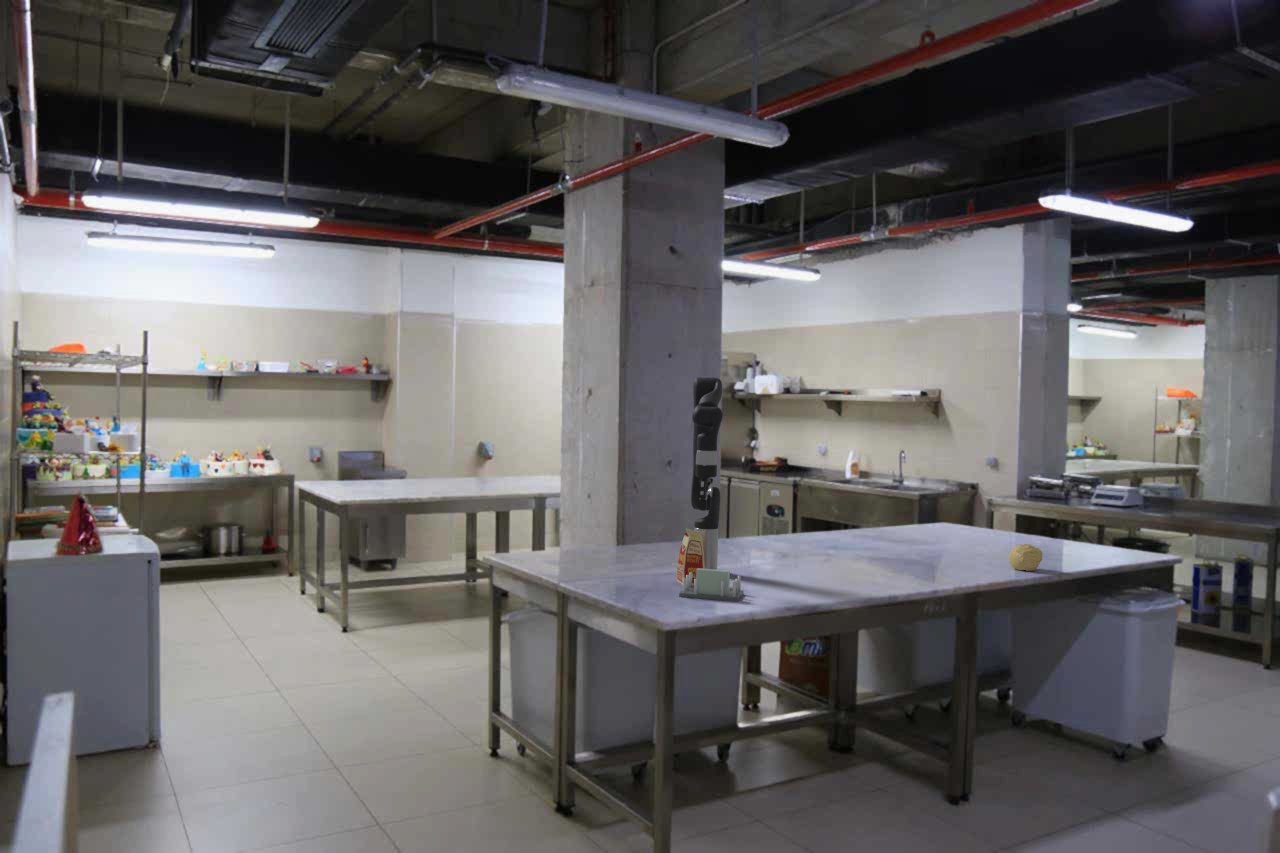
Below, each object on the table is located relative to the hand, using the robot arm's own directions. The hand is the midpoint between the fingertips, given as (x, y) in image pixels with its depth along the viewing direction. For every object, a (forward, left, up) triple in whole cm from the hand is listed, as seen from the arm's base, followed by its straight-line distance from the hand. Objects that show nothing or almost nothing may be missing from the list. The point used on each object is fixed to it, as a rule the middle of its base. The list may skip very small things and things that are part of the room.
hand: (705, 509), depth 317 cm
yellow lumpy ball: (-85, +118, -28) cm, 148 cm away
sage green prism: (+14, +6, -27) cm, 31 cm away
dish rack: (+11, +5, -28) cm, 31 cm away
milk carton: (-8, -6, -28) cm, 30 cm away
